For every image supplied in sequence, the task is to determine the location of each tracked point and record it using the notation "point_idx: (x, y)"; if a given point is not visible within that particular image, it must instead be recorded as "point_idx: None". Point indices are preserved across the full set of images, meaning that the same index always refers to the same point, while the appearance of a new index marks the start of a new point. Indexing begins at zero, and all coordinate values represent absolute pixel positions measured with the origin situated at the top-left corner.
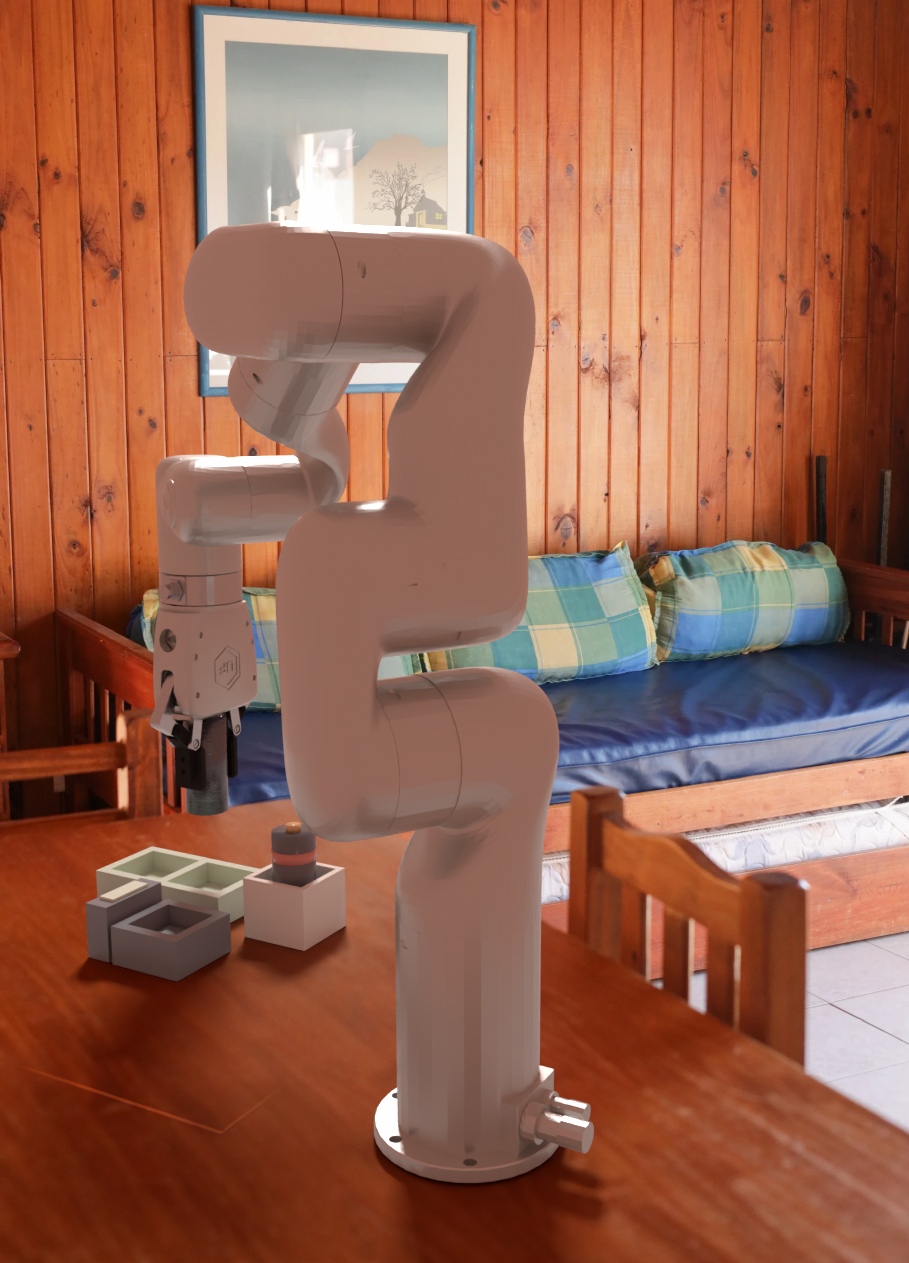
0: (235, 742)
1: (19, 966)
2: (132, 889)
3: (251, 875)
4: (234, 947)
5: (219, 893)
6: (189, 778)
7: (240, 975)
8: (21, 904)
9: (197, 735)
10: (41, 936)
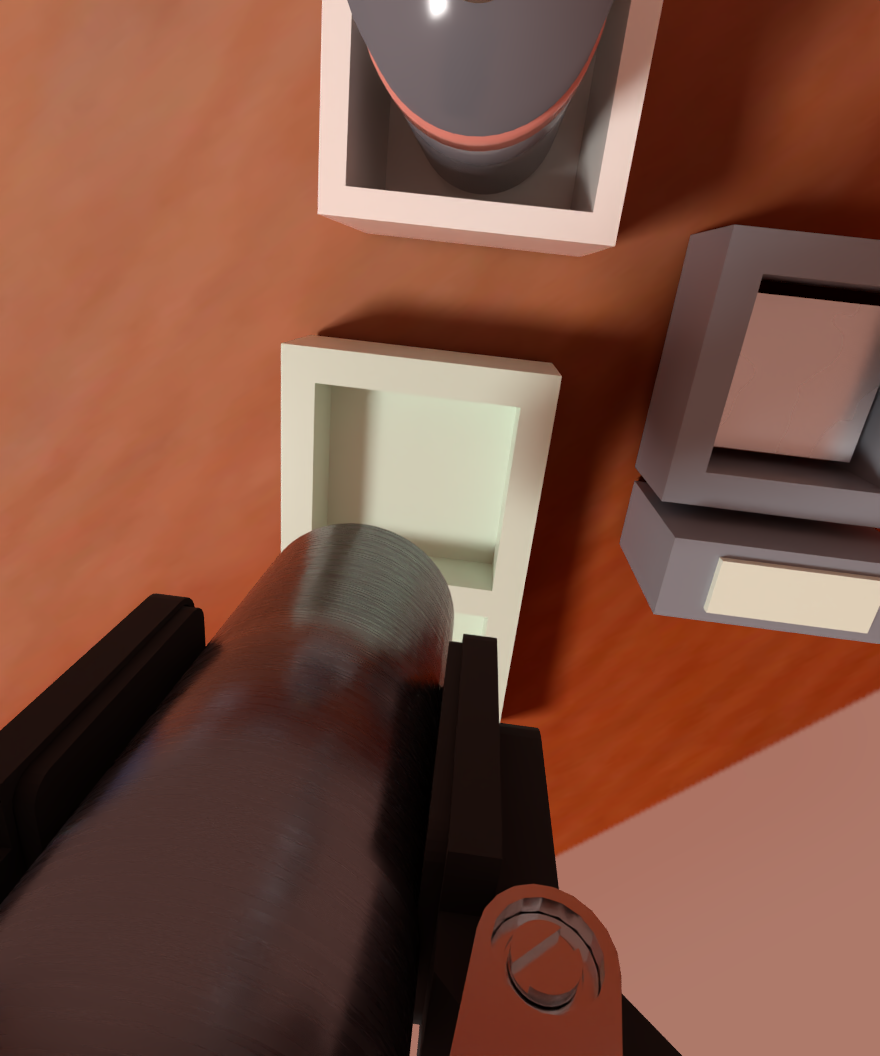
0: (11, 744)
1: (875, 677)
2: (788, 576)
3: (577, 227)
4: (642, 253)
5: (526, 392)
6: (536, 740)
7: (838, 106)
8: (558, 837)
9: (518, 1053)
10: (705, 722)
